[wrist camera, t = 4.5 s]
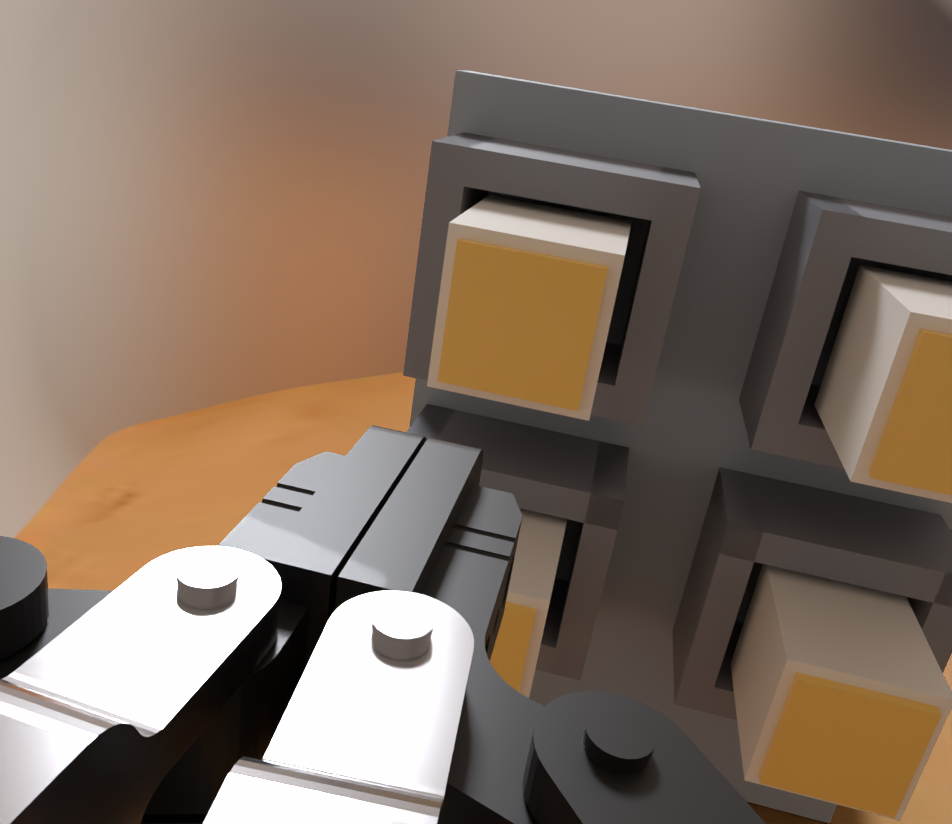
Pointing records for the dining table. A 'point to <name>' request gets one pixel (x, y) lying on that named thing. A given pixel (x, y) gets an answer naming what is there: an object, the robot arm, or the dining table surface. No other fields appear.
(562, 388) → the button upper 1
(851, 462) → the upper button
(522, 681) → the lower button
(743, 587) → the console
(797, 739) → the lower button
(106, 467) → the dining table surface
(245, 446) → the dining table surface
